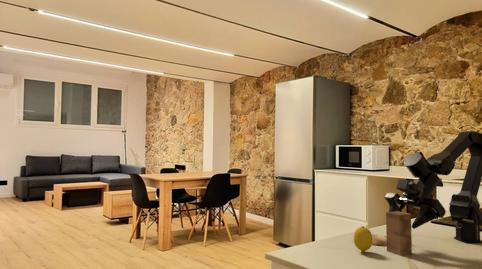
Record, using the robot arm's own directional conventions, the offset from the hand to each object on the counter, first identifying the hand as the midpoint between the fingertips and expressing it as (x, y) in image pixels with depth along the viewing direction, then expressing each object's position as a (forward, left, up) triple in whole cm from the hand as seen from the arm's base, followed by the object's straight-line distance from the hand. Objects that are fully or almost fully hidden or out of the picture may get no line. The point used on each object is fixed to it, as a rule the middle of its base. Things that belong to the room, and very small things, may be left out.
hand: (400, 224), depth 109 cm
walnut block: (+1, 0, -8) cm, 8 cm away
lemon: (+12, -1, -9) cm, 14 cm away
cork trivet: (+2, -13, -8) cm, 15 cm away
